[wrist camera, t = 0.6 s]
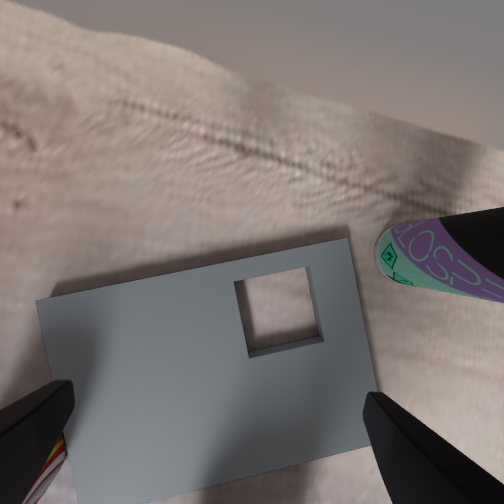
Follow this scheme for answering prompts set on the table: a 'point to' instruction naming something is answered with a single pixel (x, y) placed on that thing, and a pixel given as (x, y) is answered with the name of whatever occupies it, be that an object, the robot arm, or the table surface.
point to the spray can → (447, 254)
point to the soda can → (47, 473)
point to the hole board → (205, 378)
